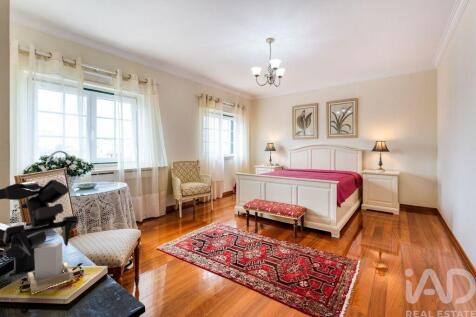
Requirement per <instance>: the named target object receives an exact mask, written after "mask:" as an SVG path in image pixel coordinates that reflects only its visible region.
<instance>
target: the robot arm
mask: <svg viewBox="0 0 476 317" xmlns="http://www.w3.org/2000/svg"><path fill="white" fill-rule="evenodd" d="M68 193H69V188H68V186H67V185H66V184H64V183H62V182H59V181H57V179H50V180H49V181H48V182H47V183H46V184H45V185H42V184H41V185H40V184H38V182H36V181H26V182H18V183H14V184H11V185H8V186H5V187H3V188H0V200H9V201H10V200H11V201H14V200H16V201H18V200H19V201H20V200H25V199H27V200H26V201H25V202H23V204H21V207H20V208H21V209H26V210H27V213H28V217H29V222H30V225H27V226H24V224H19V225H14V226H12V225H8V224H4V223H1V222H0V240H1V241H3V243H4V245H9V246H10V247H9V248H8V249H7V250H6V251H5V255H6V257H7V258H9V259H11V258H12V259H13V262H14V263H13V264H14V265H13V270H11V271H10V272H9V273H8V275H9V276H12V275H20V274H26V273H27V274H28V273H29V272H32V271H35V258H34V249H35V248H36V247H38V246H39V245H41V244H45V242H46V241H47V235H46V232H45V231H49V230H53V229H54V230H55V229H59V228H60V229H61V230H62V231H61V235H62V239H63V240H62V241H63V243H64V245H65V247H67V246H68V245H69V239H70V233H71V231H72V230H74V229H76V227H77V225H78V223H79V221H80V219H79V217H78V215H75V214H74V215H68V216H63V217H62V221H56V220H57V216H58V215H59V214H60V215H61V214H62V213H63V212H64V206H63V204H62V203H56V202H58V201H59V200H60V199H62V198H63V197H64V196H65V195H67V194H68ZM55 203H56V204H55ZM50 204H54V205H51V206H50ZM54 221H56V222H54Z"/></svg>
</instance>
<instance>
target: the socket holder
mask: <svg viewBox="0 0 476 317" xmlns="http://www.w3.org/2000/svg"><path fill="white" fill-rule="evenodd" d="M63 270H64V272H65V273H63V274H60V275H57V276H54V277H50V278H47V279H44V280H41V281H38V282H36V280H35V270H34V271H32V272H27V283H28V282H29V284H30V287H29V289H30V288H31V290H30V293H31V292H32V293H35V292H38V291H41V290H44V289H46V288H48V287H50V286H53V285H56V284H59V283H62V282H64V281H66V280H69V279H71V278H73V279H74V271H73V269H72V267H70V265H69V264H68V263H67V261H64V262H63ZM29 284H28V285H29ZM32 293H31V294H32Z"/></svg>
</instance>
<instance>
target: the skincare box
mask: <svg viewBox="0 0 476 317" xmlns="http://www.w3.org/2000/svg"><path fill="white" fill-rule="evenodd" d="M63 257H64V256H63V242H50V243H43V244H41V245H39V246H38V247H36V248H35V249H34V258H35V270H34V271H35V280H36V282H38V281H41V280H44V279H47V278H50V277H54V276H57V275H60V274H63V263H64V262H63Z"/></svg>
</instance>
